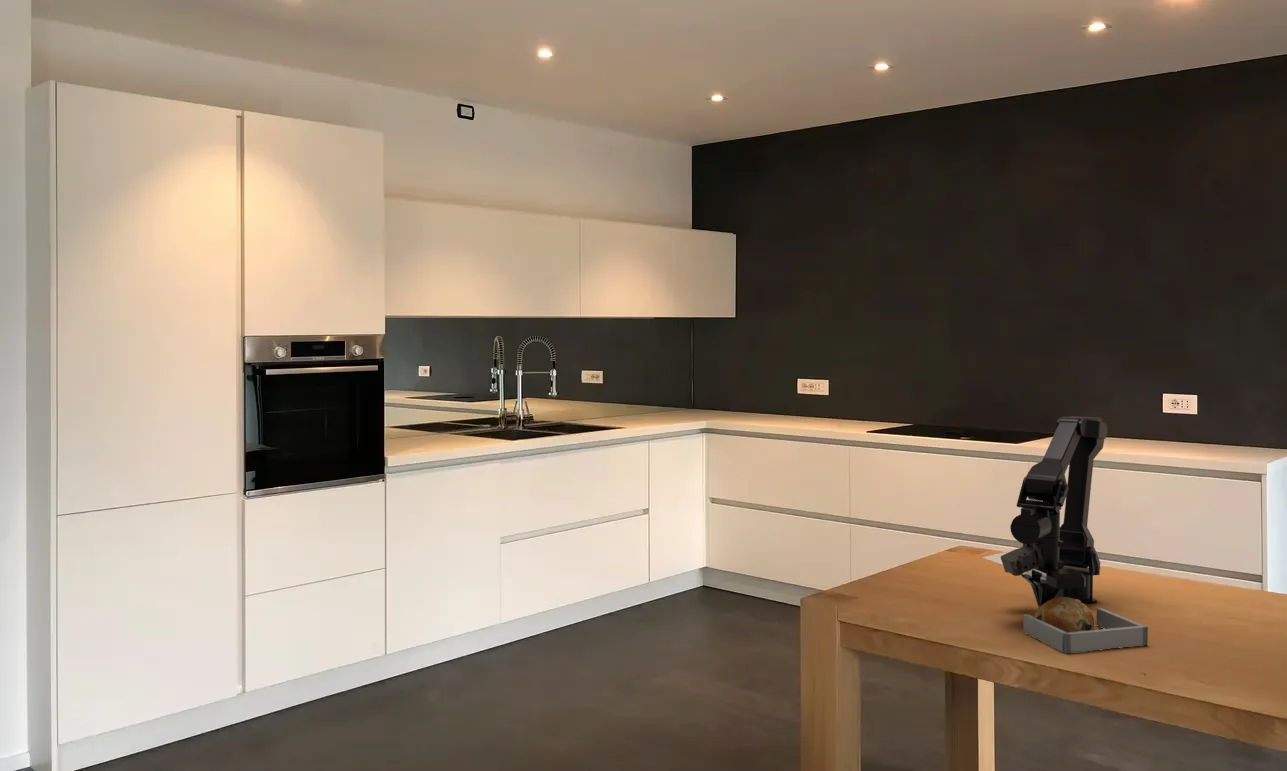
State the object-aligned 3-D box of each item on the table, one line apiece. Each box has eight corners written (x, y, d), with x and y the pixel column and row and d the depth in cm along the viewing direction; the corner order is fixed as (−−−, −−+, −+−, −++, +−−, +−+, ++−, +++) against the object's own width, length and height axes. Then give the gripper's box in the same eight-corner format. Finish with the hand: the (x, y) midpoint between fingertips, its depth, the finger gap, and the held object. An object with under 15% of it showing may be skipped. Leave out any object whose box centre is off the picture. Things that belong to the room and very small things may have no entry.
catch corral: (1100, 625, 200) (1101, 607, 200) (1147, 645, 187) (1147, 627, 187) (1023, 632, 196) (1023, 614, 196) (1065, 653, 183) (1065, 634, 183)
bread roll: (1067, 656, 193) (1085, 622, 190) (1021, 623, 200) (1038, 590, 196) (1091, 645, 199) (1109, 612, 196) (1046, 613, 206) (1063, 581, 203)
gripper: (982, 528, 210) (981, 602, 211) (1035, 547, 192) (1034, 629, 193) (1030, 525, 213) (1029, 598, 214) (1087, 544, 194) (1086, 624, 195)
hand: (1043, 612), depth 204 cm, fingers closed
